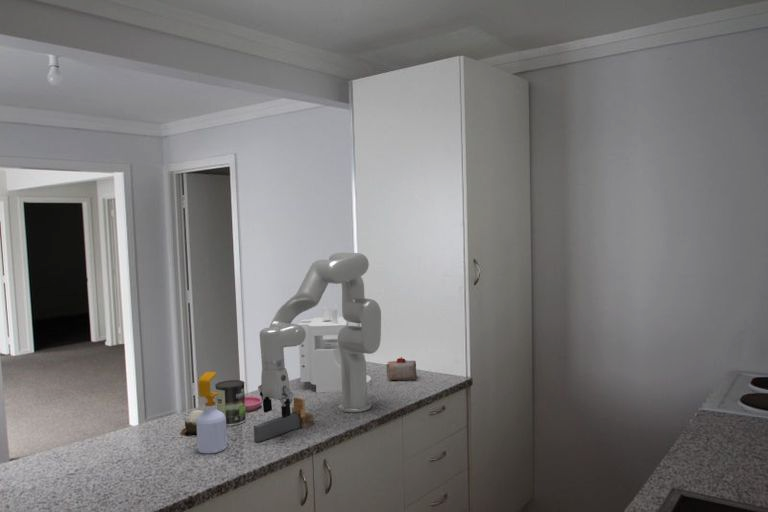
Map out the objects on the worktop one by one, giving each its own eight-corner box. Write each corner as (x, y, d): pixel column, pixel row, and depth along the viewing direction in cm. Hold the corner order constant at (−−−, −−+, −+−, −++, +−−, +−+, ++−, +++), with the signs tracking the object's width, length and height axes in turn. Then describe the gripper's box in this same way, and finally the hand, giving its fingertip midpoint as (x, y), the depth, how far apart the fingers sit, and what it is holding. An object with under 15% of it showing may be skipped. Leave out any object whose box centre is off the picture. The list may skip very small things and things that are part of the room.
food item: (386, 382, 269) (385, 360, 268) (386, 377, 277) (386, 356, 276) (416, 381, 268) (416, 359, 267) (416, 377, 276) (416, 355, 275)
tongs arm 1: (295, 425, 212) (295, 411, 212) (297, 426, 212) (297, 412, 212) (254, 440, 199) (253, 425, 198) (256, 441, 198) (255, 426, 198)
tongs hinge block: (305, 421, 217) (305, 412, 217) (313, 424, 214) (313, 414, 214) (294, 425, 213) (294, 415, 213) (303, 428, 211) (302, 418, 210)
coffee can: (250, 417, 224) (249, 380, 224) (238, 426, 214) (236, 387, 214) (225, 416, 226) (223, 379, 226) (211, 425, 216) (210, 386, 216)
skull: (190, 421, 219) (207, 401, 217) (209, 442, 217) (226, 422, 215) (170, 431, 207) (187, 411, 205) (190, 453, 205) (207, 432, 203)
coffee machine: (305, 379, 278) (301, 304, 277) (370, 376, 279) (367, 301, 277) (299, 394, 254) (295, 312, 253) (371, 390, 255) (367, 308, 253)
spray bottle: (232, 445, 196) (229, 370, 195) (216, 455, 188) (212, 377, 186) (209, 442, 199) (205, 369, 198) (191, 452, 191) (188, 375, 189)
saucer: (267, 409, 235) (267, 401, 234) (236, 415, 228) (236, 407, 227) (254, 402, 245) (254, 394, 245) (225, 408, 238) (224, 400, 238)
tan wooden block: (296, 413, 214) (295, 397, 214) (305, 416, 211) (304, 399, 211) (292, 415, 213) (291, 398, 212) (300, 417, 210) (300, 400, 209)
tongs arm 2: (298, 426, 212) (297, 412, 211) (300, 427, 211) (299, 413, 211) (256, 441, 198) (255, 426, 198) (258, 442, 197) (257, 427, 197)
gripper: (298, 365, 200) (302, 415, 202) (265, 358, 211) (269, 406, 213) (281, 370, 195) (285, 422, 196) (248, 363, 206) (252, 412, 207)
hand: (277, 414), depth 204 cm, fingers open, 9 cm apart
